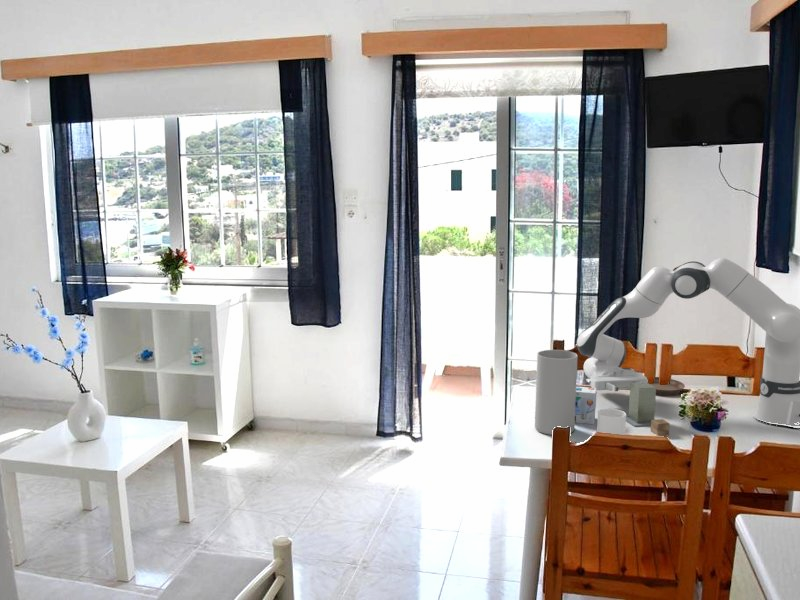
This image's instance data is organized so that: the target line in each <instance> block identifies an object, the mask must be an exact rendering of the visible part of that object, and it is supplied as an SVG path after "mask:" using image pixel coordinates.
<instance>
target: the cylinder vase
mask: <svg viewBox="0 0 800 600" xmlns="http://www.w3.org/2000/svg"><path fill="white" fill-rule="evenodd" d="M536 359H537V360H536V380H535V381H536V382H535V383H536V384H535V386H536V387H535V407H534V408H535V411H534V414H535V415H534V428H535V429H536V431H537V432H540V433H541V434H545V435H549V436H552V435H551V434H552V430H553V428H554V427H557V426H561V427H567V426H569V427H571V433H570V434H572V433H573V432H574V430H575V424H576V422H575V401H576V386H577V380H578V379H577V378H578V377H577V374H578V354H577V353H576V352H574V351H573V352H572V351H569V350H563V349H546V350H540V351H538V352H537V355H536Z"/></svg>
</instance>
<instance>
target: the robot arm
mask: <svg viewBox="0 0 800 600" xmlns="http://www.w3.org/2000/svg"><path fill="white" fill-rule="evenodd" d="M709 289H713V290H715V291H716V292H718V293H719V294H720V295H722V296H723V297H724V298H726V299H727V300H728V301H729V302H731V303H732V304H733V305H735V306H736V307H737V308H738V309H740V311H742V312H743V313H745V314H746V315H747V316H748V317H749V318H750V319H751V320H752V321H753V322H754V323H756V324H757V326H759V327H760V328H761V329H762V330H763V331H764V332H765V340H764V351H763V352H764V355H763V365H762V367H763V368H762V375H761V377H760V382H759V398H758V401H757V405H756V407H755V408H756V409H755V410H754V411H755V412H754V413H753V416H755V417H756V418H758V419H760V420H763V421H766V422H771V423H778V424H786V425H791V426H800V424H799V425H795V424H794V423H797V422H799V423H800V308H799V307H797V306H796V305H795V304H792V303H787V302H786V301H785V300H784V299H782V298H781V297H780V296H779V295H778V294H776V293H775V292H774V291H773V290H772V289H771V288H770V287H769V286H767V285H766V284H764V283H763V281H760V280H759V278H757V277H755V276H754V275H753V274H752V273H750V272H749V271H747V270H746V269H745V268H744V267H742V266H740V264H739V265H738V264H737V263H735V262H734V261H732V260H729V259H727V258H725V257H718V258H716V259H714V260H712V261H711V262H710V263H709V264H708V265H707V266H706V265H704V264H703V263H701V262H699V261H688V262H684V263H682V264H681V265H678V266H676V267H674V268H673V269H672V270H670V269H668V268H667V267H665V266H659V265H658V266H654V267H652V268H651V269H650V270H648V271H647V273H646V274H645V275H643V277H642V278H641V279H640V280H639V282H638V283H637V285H636V286H635V287H634V288H633V290H632V291H630V292H629V293H627V294H626V295H624V296H621V297H618V298H616V299H615V300H613V301H612V302H611V303H610V304H609V305H608V306H607V307H606V309H605V310H603V312H602V313H601V314H600V315H599V316H598V317H597V318H596V319H595V320H594V321H593V322H592V323H591V324H590V325H589V326H588V327H586V328H585V329H584V330H582V331H581V333H580V334H579V335H578V336H577V339H576V347H577V350H578V352H579V353H580V355H581V356H585V357H587V359H586V360H585V361H584V364H583V372H584V374H585V376H586V377H587V378H586V379H585V382H587V383H588V384H589V386H590V388H596V391H609V392H610V391H612V392H618V391H619V390H630V383H645V382H647V383H648V379H647V377H648V376H645V375H644V374H641V373H640V372H636V371H635V369H634V368H629V367H622V365H624V363H625V360H626V357H627V350H626V346H625V345H626V344H625V343H624V342H623V341H622V340H620V339H617V338H615V337H611V336H609V335H607V334H605V332H606V331H607V330H608V329H609V328H611V326H612V325H613V324H614V323H615V322H617V321H618V320H620V319H626V318H634V319H635V318H637V319H643V318H644V319H645V318H649V317H652V316H654V315H655V314H656V313H657V312H658V311H659V310H660V308H661V307H662V305H664V303H665V302H666V300H667V298H668V297H669V296H671V294H673V293H674V294H675V295H676V296H677V297H679V298H681V299H684V300H685V299H688V300H689V299H694V298H695V297H698V296H700V295H702V294H703V293H705V292H707V291H708V290H709ZM797 424H798V423H797Z"/></svg>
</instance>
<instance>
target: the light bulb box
mask: <svg viewBox="0 0 800 600" xmlns="http://www.w3.org/2000/svg"><path fill="white" fill-rule="evenodd" d="M596 407H597V390H596V388H592V387H587V386H577V385H576V401H575V423H580V424H588V425H594V424H595V419H596Z"/></svg>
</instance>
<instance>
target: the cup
mask: <svg viewBox="0 0 800 600" xmlns="http://www.w3.org/2000/svg"><path fill="white" fill-rule="evenodd" d="M626 416H627V413H626V412H625V411H623V410H620V409H616V408H602V409H599V410H598V411H597V423H596V425H597V427H596V433H597V432H605V433H613V434H622V435H625V436H626V423H627V422H626Z"/></svg>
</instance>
